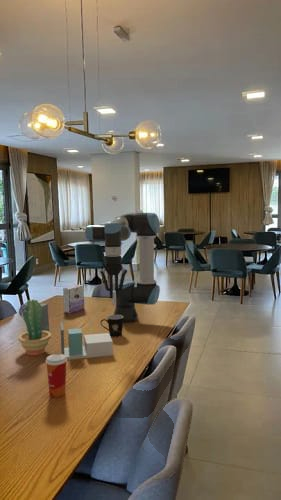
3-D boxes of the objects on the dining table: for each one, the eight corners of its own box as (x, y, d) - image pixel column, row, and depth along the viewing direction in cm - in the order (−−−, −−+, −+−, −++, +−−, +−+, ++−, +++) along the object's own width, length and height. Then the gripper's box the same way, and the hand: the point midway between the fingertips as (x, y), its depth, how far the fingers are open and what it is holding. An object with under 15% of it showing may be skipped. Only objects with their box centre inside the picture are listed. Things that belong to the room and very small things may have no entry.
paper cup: (48, 389, 144) (47, 353, 142) (69, 388, 145) (67, 352, 143) (45, 399, 136) (43, 362, 135) (66, 398, 137) (65, 361, 135)
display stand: (108, 346, 188) (108, 318, 186) (112, 355, 177) (112, 325, 175) (61, 350, 183) (60, 322, 181) (62, 360, 171) (61, 330, 170)
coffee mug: (126, 333, 206) (126, 315, 205) (119, 338, 198) (118, 320, 197) (107, 330, 211) (107, 313, 210) (99, 335, 203) (99, 317, 202)
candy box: (78, 307, 260) (77, 284, 258) (84, 309, 257) (84, 285, 255) (63, 312, 249) (62, 287, 247) (69, 313, 246) (69, 288, 244)
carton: (80, 328, 181) (68, 329, 179) (82, 332, 174) (68, 334, 173) (81, 348, 182) (68, 349, 181) (82, 353, 175) (69, 355, 174)
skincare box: (43, 336, 203) (42, 307, 202) (31, 335, 205) (29, 306, 203) (50, 331, 212) (49, 303, 210) (38, 330, 213) (37, 302, 211)
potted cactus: (24, 345, 190) (22, 296, 187) (55, 345, 189) (53, 296, 186) (13, 357, 174) (11, 304, 172) (47, 358, 174) (45, 304, 171)
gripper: (100, 257, 172) (101, 307, 175) (128, 255, 176) (129, 305, 178) (98, 255, 180) (99, 303, 182) (125, 254, 183) (126, 302, 186)
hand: (114, 304), depth 180 cm, fingers closed
